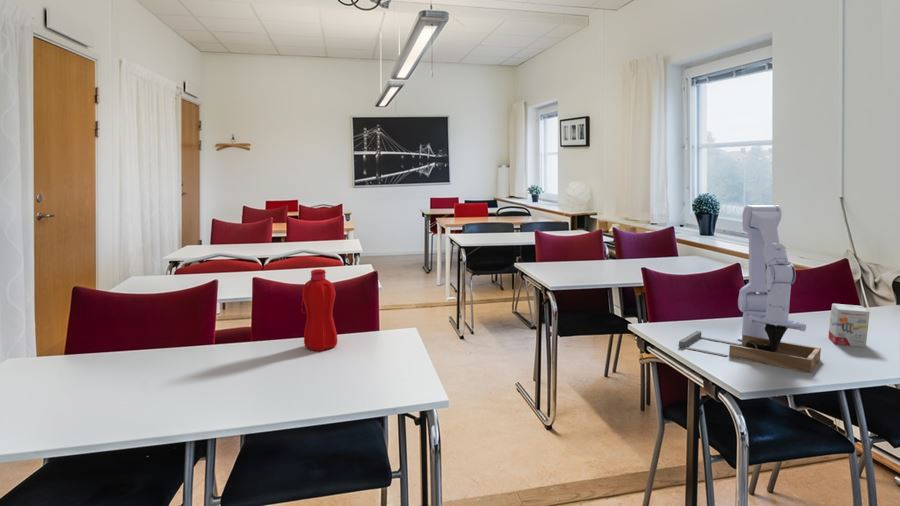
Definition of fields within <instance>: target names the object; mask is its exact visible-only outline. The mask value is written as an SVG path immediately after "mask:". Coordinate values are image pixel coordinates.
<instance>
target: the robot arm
mask: <svg viewBox="0 0 900 506" xmlns="http://www.w3.org/2000/svg"><path fill="white" fill-rule="evenodd" d="M742 211H743V212H742V231H744V232H746V233H747V237H748V282H747V283H746V284H745V285H744V286H742V287H741V288H740V289H739V294H738V299H737V306H738V307H737V308H738V309H739V310H740V312H741V313H742V326H741V335H740V336H739V337H737V341H741V342H742V336H743V335H747V336H753V337H758V338H764V339H769V341H770V344H771V351H777V350H778V346H779V343H780V341H781V340H782V339H783V336H784V335H785V333H786V332H787V330H788V329H791V330H798V331H801V332H805V331H806V330H807V323H806V322H805V323H804V322H799V321H795V320H792V319H789V314H790V313H789V312H790V303H791V301H790V300H791V290H792V285H794V283H795V281H796V278H797V277H796V275H797V273H796V268H795V265H794V264H793V263H792V262H791V261H789V258H788V255H787V251H786V247H785V246H784V245H783V244H782V243H780V238H779V232H778V231H779V230H778V227H779V224H780V222H781V220H782V209H781V207H780V206H779V205H778V204H776V205H767V204H766V205H760V204H759V205H756V204H755V205H754V204H753V205H750V204H746V206H744V208H743V210H742Z"/></svg>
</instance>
